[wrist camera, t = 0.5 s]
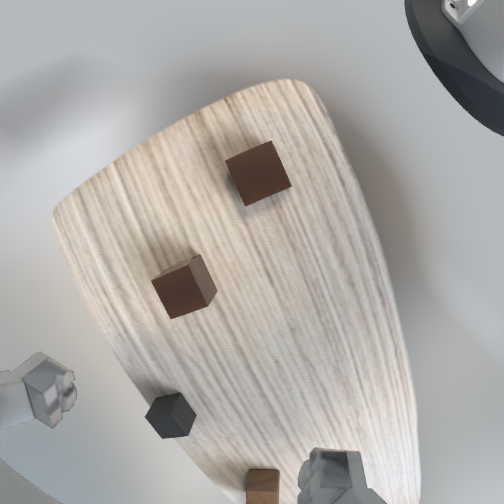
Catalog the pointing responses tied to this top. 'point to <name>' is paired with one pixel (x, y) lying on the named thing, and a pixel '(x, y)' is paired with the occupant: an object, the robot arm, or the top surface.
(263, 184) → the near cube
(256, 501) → the wooden block
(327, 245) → the top surface
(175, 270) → the middle cube
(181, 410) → the cube
